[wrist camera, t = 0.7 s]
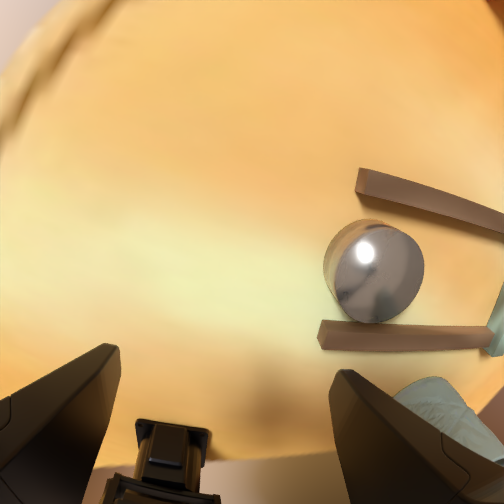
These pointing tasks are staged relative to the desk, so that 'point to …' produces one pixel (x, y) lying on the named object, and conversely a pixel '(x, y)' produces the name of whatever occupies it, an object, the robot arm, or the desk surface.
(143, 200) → the desk surface
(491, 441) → the pale green cup
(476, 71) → the desk surface
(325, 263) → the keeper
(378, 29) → the desk surface
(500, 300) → the channel
